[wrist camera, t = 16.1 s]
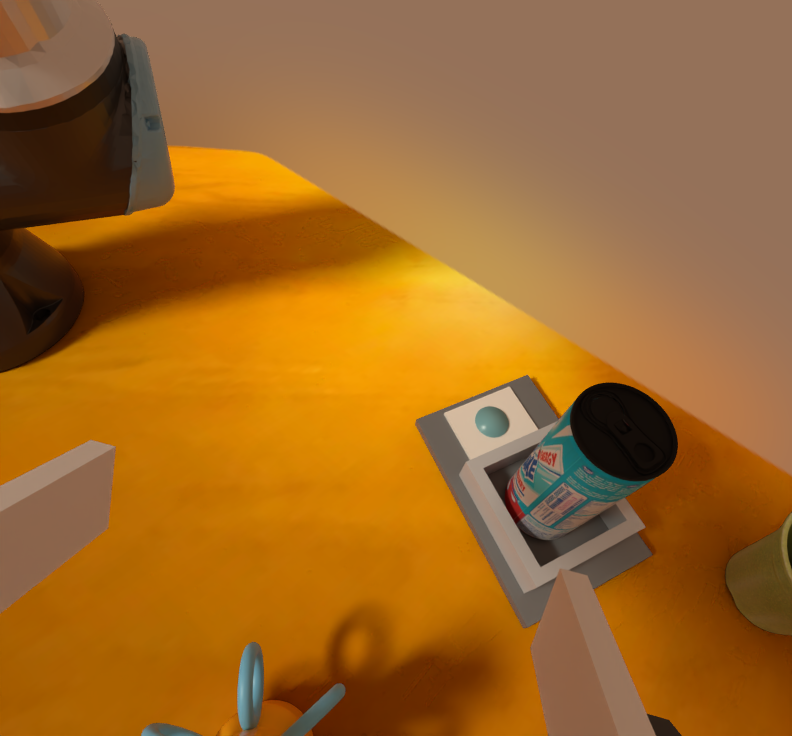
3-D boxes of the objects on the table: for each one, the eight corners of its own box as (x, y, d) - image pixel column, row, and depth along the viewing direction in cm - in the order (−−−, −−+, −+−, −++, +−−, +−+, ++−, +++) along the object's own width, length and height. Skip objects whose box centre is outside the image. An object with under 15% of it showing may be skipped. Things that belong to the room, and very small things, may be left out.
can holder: (415, 424, 44) (420, 403, 40) (524, 380, 47) (537, 357, 44) (523, 628, 36) (541, 624, 32) (646, 557, 39) (674, 546, 35)
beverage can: (550, 461, 42) (637, 371, 29) (587, 527, 39) (700, 459, 26) (489, 483, 40) (552, 397, 27) (523, 553, 37) (609, 494, 25)
